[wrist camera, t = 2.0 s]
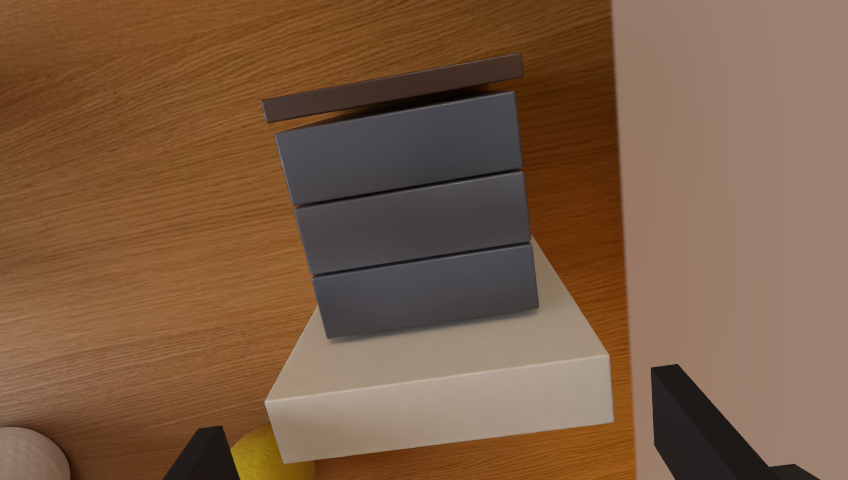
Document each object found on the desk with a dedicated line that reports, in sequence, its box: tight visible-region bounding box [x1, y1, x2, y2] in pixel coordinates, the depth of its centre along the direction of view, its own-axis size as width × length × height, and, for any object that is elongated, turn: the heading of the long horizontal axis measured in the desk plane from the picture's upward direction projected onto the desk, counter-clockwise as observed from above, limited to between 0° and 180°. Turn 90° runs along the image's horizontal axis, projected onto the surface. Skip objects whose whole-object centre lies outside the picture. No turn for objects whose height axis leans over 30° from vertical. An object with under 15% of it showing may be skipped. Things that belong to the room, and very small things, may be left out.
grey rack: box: [261, 53, 539, 339], centre depth 24 cm, size 13×9×13 cm
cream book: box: [265, 235, 614, 464], centre depth 23 cm, size 2×11×16 cm, turn 100°
